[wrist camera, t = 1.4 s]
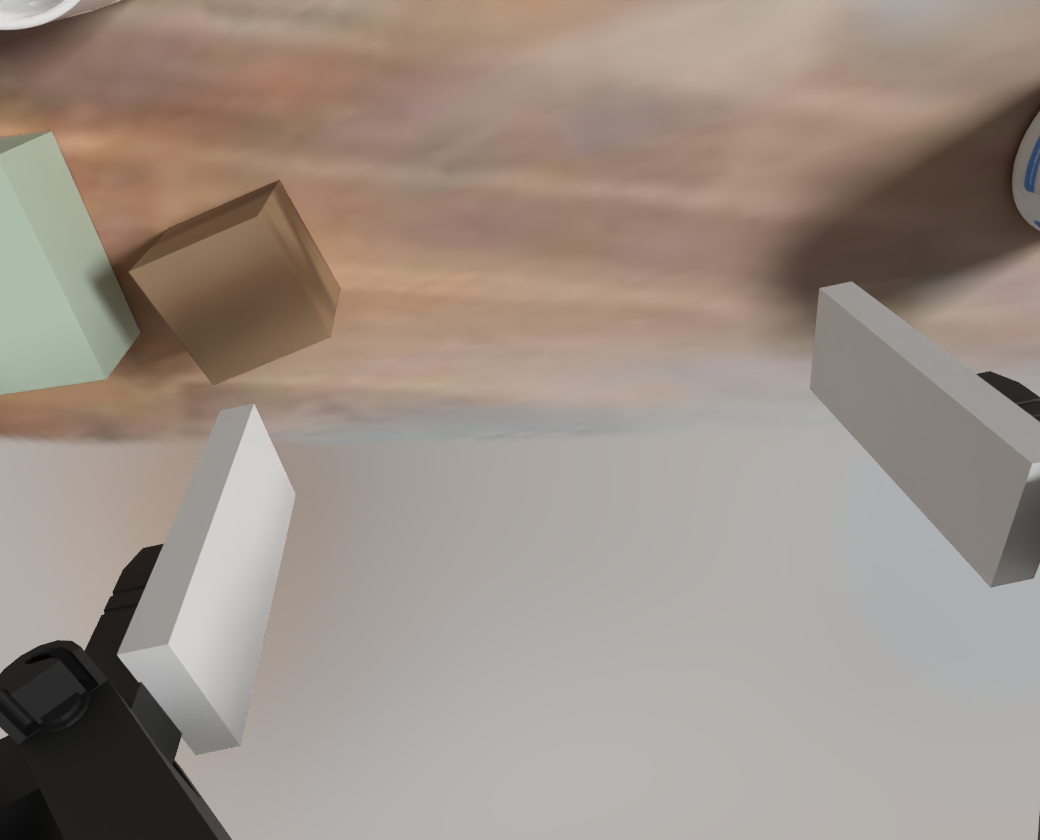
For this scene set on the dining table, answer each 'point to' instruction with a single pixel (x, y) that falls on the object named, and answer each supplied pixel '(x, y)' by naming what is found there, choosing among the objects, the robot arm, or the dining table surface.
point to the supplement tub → (1028, 175)
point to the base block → (53, 276)
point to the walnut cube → (241, 283)
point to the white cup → (43, 11)
